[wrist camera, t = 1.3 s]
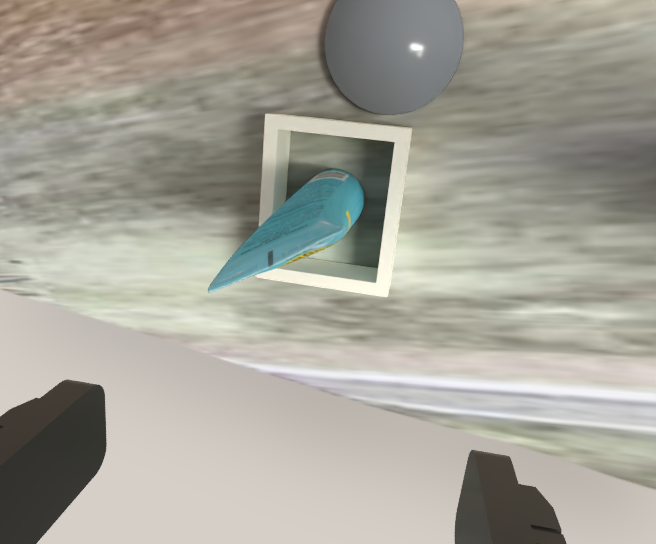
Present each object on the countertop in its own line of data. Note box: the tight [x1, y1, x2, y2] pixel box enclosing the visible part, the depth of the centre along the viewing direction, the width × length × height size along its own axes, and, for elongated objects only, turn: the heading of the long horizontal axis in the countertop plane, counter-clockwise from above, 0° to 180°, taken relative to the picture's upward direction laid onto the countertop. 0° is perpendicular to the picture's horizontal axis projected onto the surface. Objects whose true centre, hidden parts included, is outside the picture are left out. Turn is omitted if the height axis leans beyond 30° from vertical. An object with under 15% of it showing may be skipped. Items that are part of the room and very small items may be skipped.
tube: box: [208, 169, 364, 293], centre depth 34 cm, size 7×5×19 cm, turn 122°
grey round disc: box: [325, 0, 464, 115], centre depth 38 cm, size 10×10×1 cm
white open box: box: [256, 114, 412, 297], centre depth 41 cm, size 10×12×4 cm
